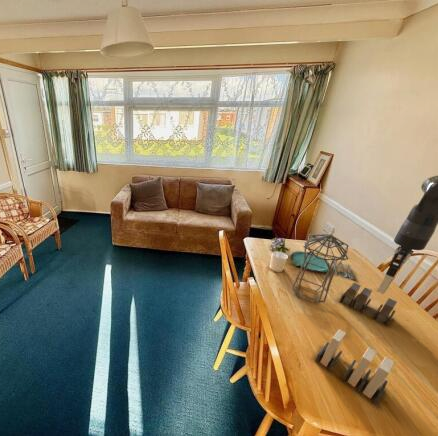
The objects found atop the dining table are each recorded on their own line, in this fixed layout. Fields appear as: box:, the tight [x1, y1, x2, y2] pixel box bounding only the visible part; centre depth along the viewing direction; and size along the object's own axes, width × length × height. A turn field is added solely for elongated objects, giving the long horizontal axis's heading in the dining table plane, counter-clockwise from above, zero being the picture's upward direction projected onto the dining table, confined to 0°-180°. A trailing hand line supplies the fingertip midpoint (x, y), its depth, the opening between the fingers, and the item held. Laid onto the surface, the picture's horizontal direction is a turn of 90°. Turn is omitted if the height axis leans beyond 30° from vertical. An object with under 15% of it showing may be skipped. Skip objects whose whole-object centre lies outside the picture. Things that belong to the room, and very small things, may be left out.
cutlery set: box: [290, 250, 354, 280], centre depth 134 cm, size 20×30×2 cm, turn 58°
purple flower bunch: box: [270, 237, 291, 254], centre depth 147 cm, size 11×11×12 cm
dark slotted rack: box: [314, 328, 395, 405], centre depth 76 cm, size 17×8×14 cm, turn 35°
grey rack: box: [338, 282, 398, 327], centre depth 102 cm, size 17×8×10 cm, turn 35°
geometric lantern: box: [291, 233, 349, 304], centre depth 105 cm, size 16×16×35 cm
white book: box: [376, 263, 400, 295], centre depth 87 cm, size 2×6×13 cm, turn 124°
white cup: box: [269, 250, 289, 273], centre depth 129 cm, size 8×8×10 cm
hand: (392, 272), depth 86 cm, fingers closed on white book, 6 cm apart
